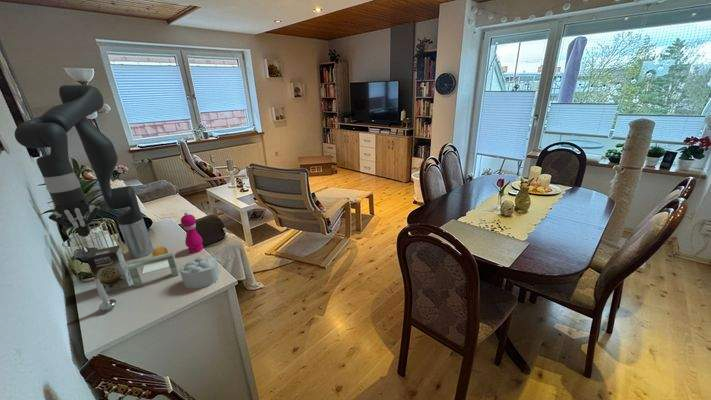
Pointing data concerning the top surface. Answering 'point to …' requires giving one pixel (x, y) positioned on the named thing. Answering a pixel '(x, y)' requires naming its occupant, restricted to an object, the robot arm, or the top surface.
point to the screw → (104, 297)
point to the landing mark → (156, 266)
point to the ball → (159, 251)
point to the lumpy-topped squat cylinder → (200, 272)
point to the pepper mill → (191, 233)
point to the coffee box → (109, 268)
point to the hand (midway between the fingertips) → (85, 235)
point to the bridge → (133, 265)
